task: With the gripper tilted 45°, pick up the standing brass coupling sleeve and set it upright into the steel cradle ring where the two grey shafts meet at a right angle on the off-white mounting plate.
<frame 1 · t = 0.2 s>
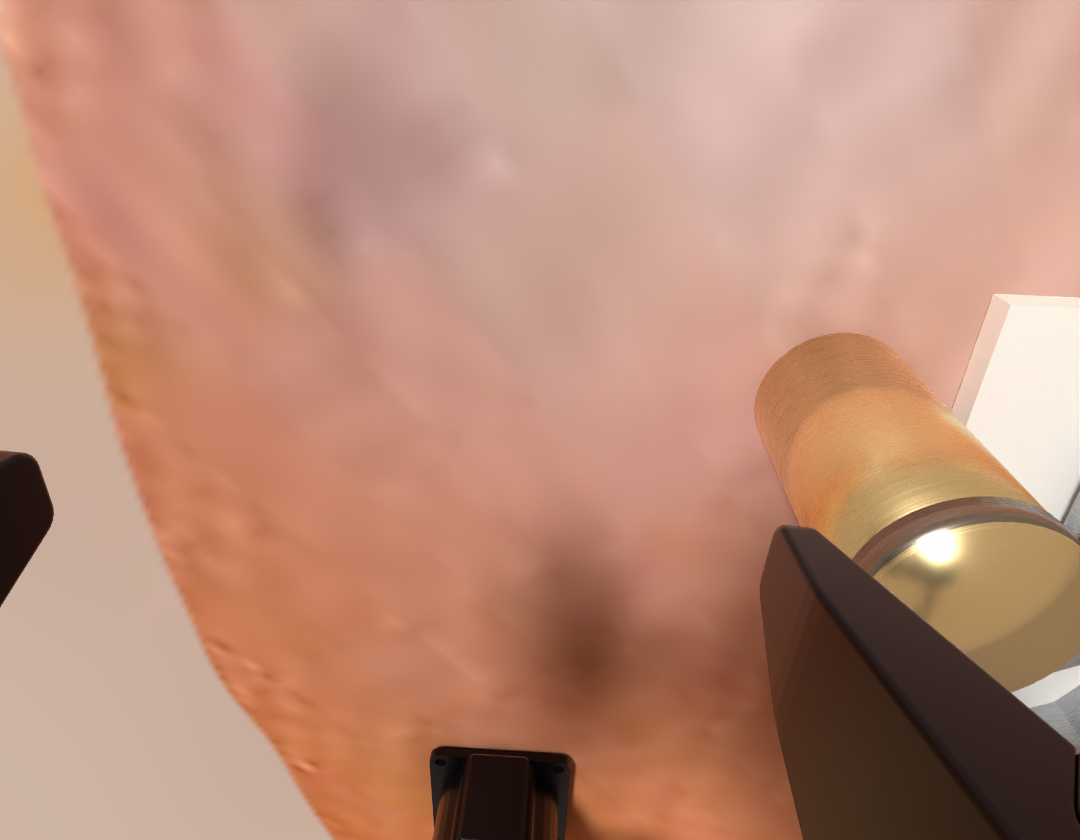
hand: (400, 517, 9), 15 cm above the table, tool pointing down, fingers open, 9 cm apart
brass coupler: (830, 402, 24), on the table
mounting plate: (1001, 635, 28), on the table
steel cradle: (1001, 635, 28), resting on mounting plate
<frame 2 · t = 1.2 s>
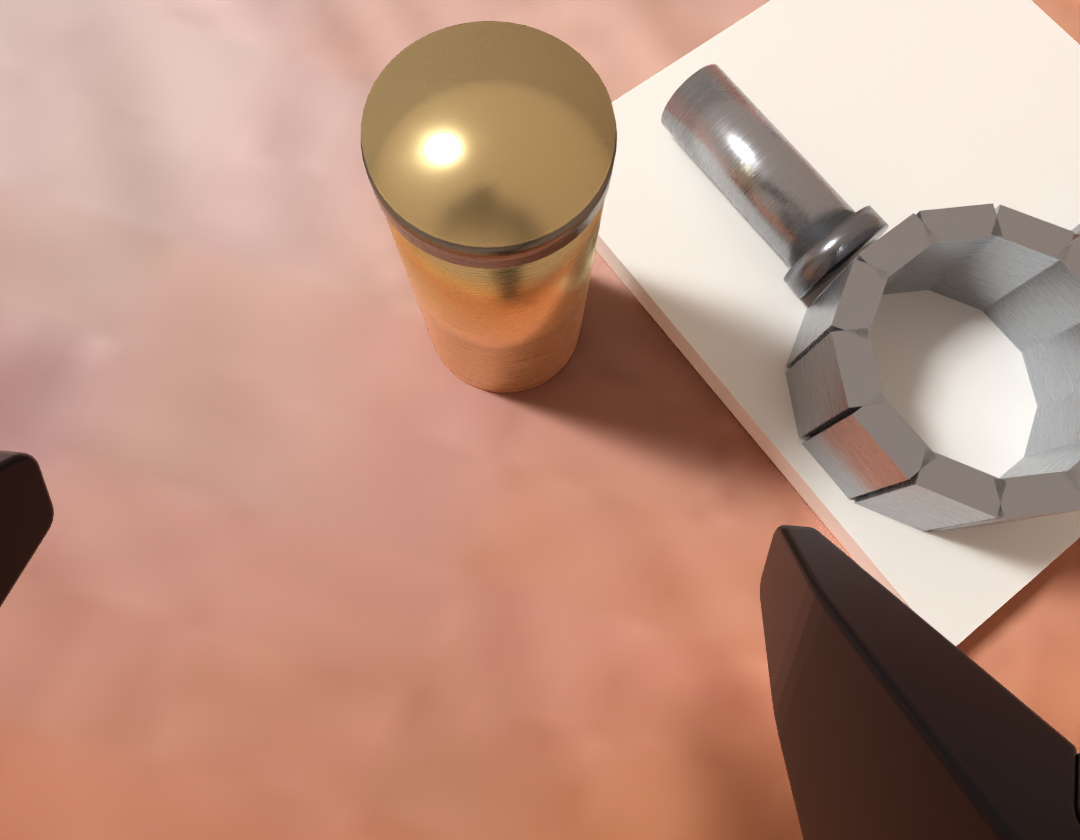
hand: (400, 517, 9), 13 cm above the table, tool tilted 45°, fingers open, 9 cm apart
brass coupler: (505, 320, 24), on the table
mounting plate: (910, 398, 23), on the table
steel cradle: (910, 398, 23), resting on mounting plate
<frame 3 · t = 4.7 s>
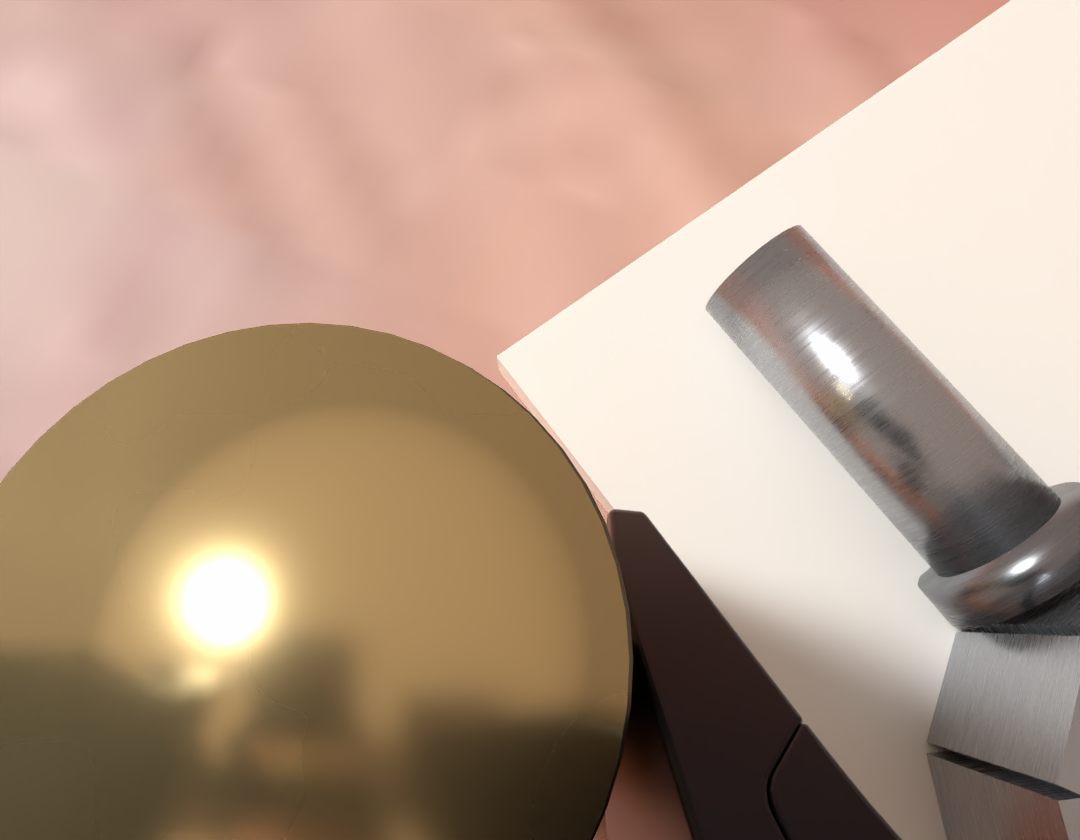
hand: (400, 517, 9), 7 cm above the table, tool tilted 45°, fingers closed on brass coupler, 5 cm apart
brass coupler: (454, 629, 15), on the table, touching gripper
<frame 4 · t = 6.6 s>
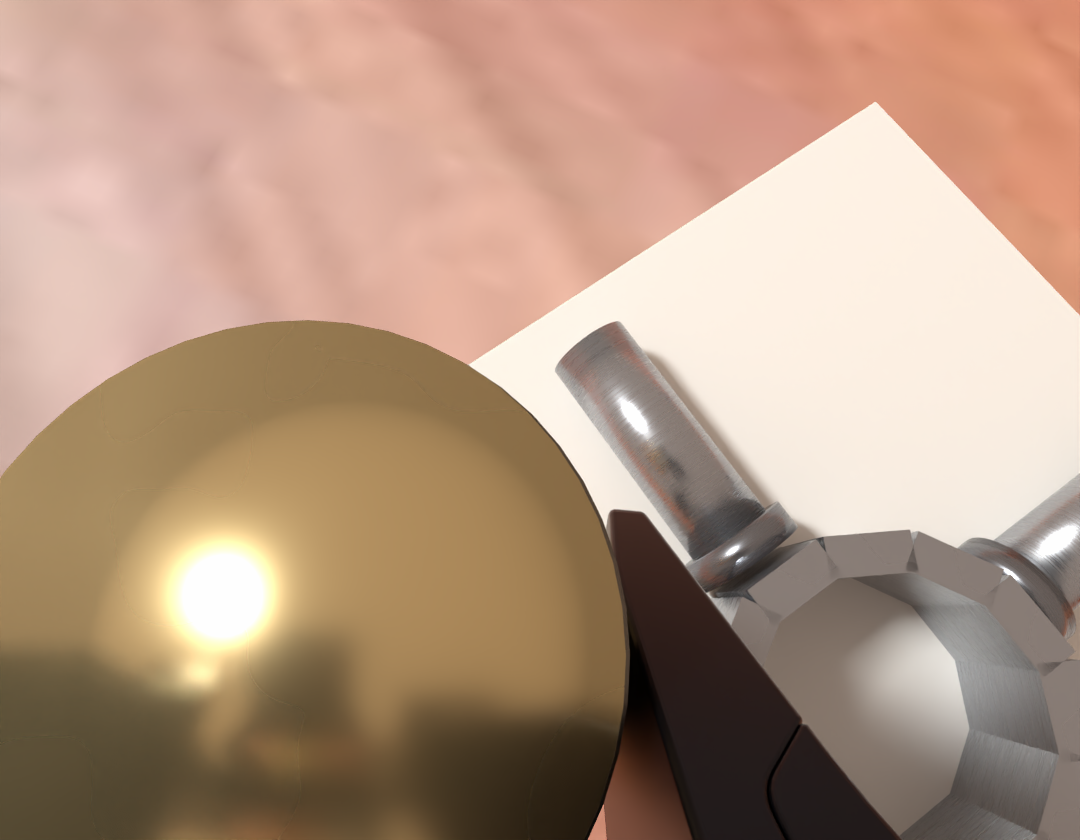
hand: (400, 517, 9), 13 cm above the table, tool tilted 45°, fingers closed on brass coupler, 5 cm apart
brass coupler: (453, 628, 15), point 7 cm above the table, touching gripper
mounting plate: (828, 699, 20), on the table
steel cradle: (828, 699, 20), resting on mounting plate
when the fingers open (9 cm above the table, at t = 8.6 s): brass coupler drops 2 cm, resting on mounting plate.
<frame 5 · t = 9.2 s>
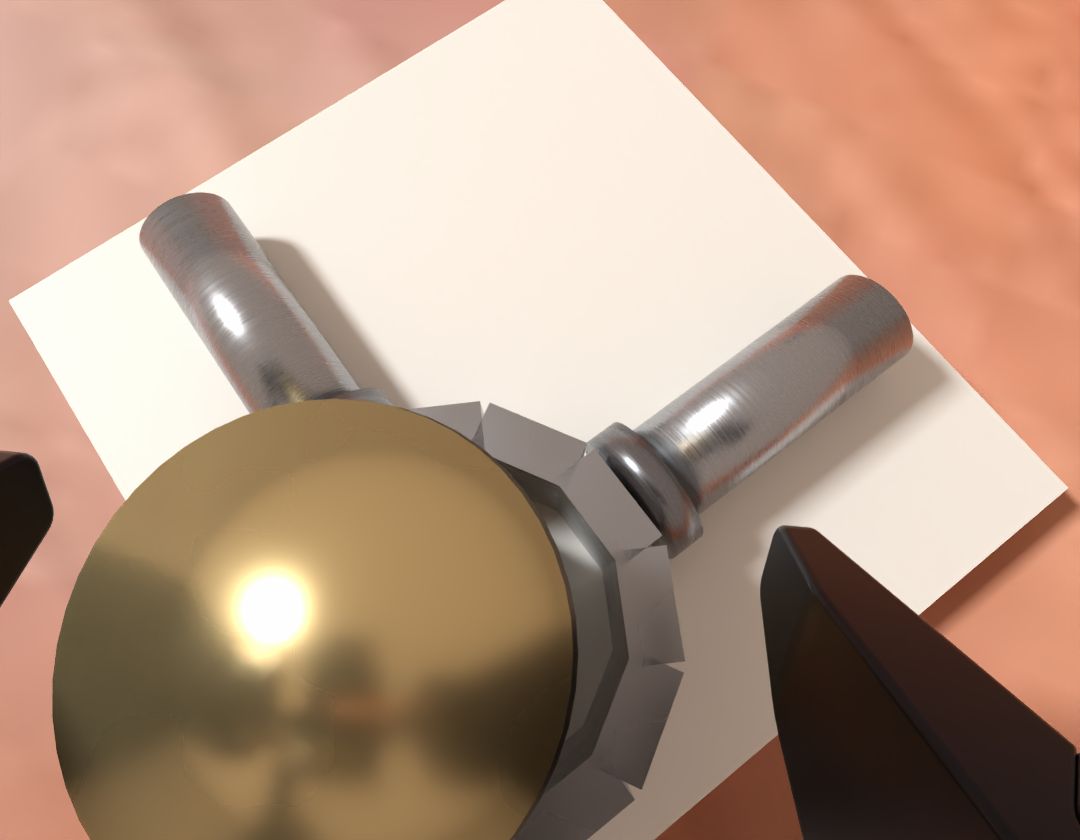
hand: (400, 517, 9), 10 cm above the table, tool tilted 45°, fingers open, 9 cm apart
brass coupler: (464, 629, 16), point 1 cm above the table, touching mounting plate
mounting plate: (470, 626, 18), on the table
steel cradle: (470, 626, 18), resting on mounting plate
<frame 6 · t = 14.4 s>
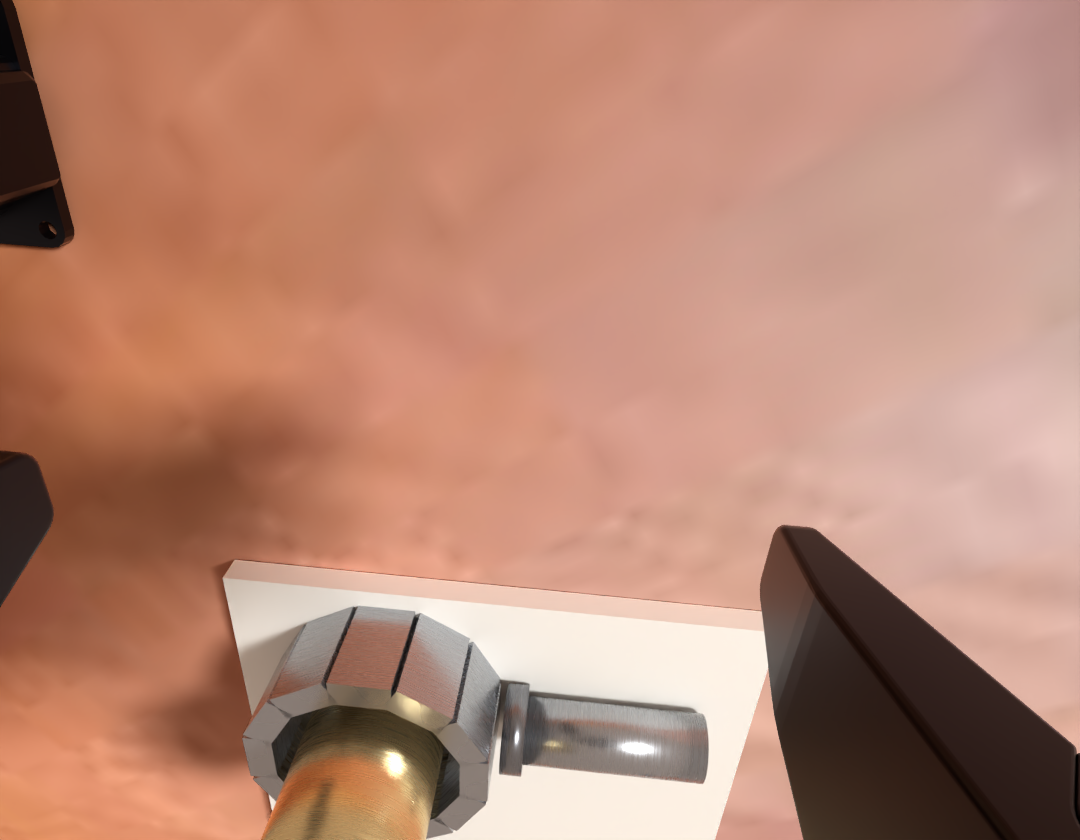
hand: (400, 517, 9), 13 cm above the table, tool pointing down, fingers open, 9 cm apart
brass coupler: (390, 688, 28), point 1 cm above the table, touching mounting plate
mounting plate: (398, 668, 29), on the table
steel cradle: (398, 668, 29), resting on mounting plate
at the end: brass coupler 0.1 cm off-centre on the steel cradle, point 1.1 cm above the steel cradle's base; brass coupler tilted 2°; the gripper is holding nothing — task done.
